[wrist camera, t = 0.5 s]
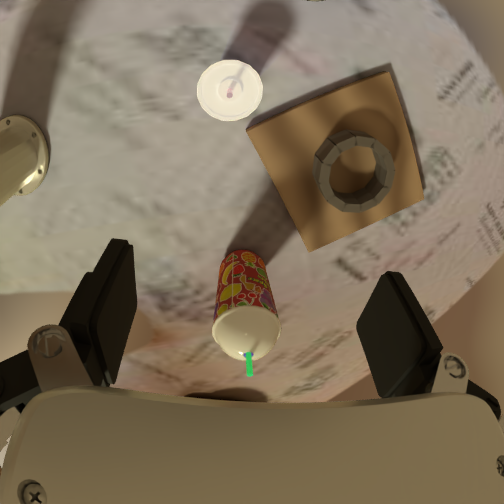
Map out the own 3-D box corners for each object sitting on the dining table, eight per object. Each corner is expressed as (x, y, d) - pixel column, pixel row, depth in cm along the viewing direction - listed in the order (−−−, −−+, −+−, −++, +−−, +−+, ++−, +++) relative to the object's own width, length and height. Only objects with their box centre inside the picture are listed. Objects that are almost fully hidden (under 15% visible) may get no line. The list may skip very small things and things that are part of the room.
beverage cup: (265, 92, 34) (283, 107, 22) (222, 117, 36) (217, 146, 24) (238, 51, 31) (242, 43, 19) (194, 78, 32) (174, 86, 21)
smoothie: (278, 270, 49) (301, 377, 33) (234, 292, 51) (238, 400, 35) (251, 231, 45) (264, 341, 29) (204, 258, 47) (194, 369, 31)
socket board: (306, 247, 47) (314, 266, 43) (245, 129, 37) (247, 138, 32) (419, 194, 43) (436, 209, 39) (384, 71, 32) (402, 74, 28)
